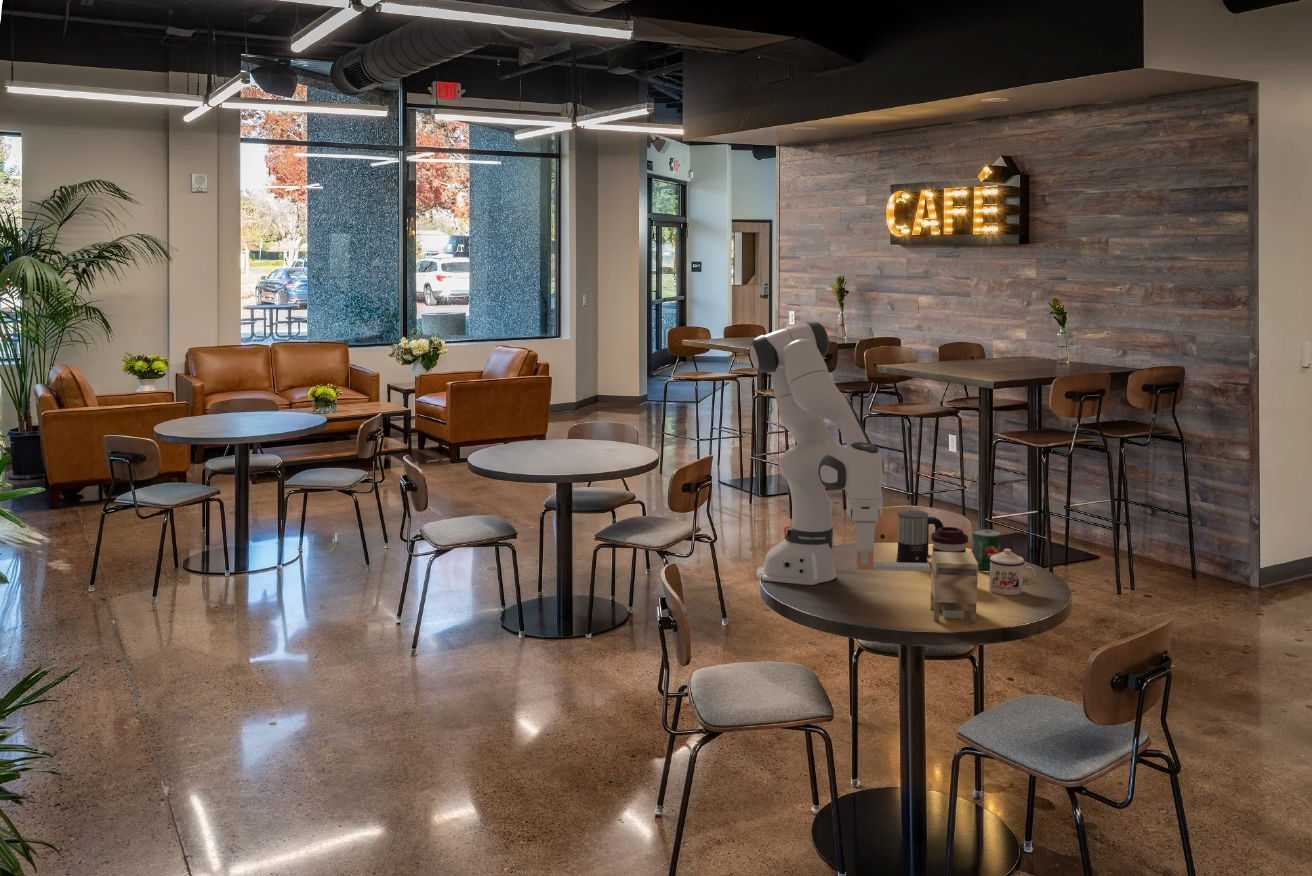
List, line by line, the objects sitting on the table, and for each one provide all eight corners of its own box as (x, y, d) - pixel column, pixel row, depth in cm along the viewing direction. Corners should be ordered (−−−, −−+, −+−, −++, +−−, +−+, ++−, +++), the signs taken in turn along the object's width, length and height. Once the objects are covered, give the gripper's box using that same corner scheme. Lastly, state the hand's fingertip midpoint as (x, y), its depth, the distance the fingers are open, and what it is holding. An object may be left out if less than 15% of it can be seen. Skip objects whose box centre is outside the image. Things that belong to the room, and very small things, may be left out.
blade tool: (857, 569, 278) (857, 550, 277) (856, 566, 282) (856, 547, 281) (930, 571, 275) (930, 552, 274) (929, 567, 279) (929, 548, 278)
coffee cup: (967, 587, 302) (969, 534, 300) (930, 585, 304) (932, 532, 302) (964, 577, 312) (967, 526, 309) (928, 575, 314) (930, 524, 311)
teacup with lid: (987, 594, 296) (989, 552, 294) (988, 585, 305) (990, 544, 303) (1035, 598, 292) (1037, 555, 291) (1034, 588, 301) (1036, 547, 299)
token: (943, 619, 276) (944, 610, 276) (940, 613, 281) (941, 604, 281) (964, 620, 276) (964, 610, 275) (960, 613, 281) (961, 604, 280)
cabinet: (934, 621, 273) (936, 563, 271) (930, 607, 284) (932, 551, 282) (975, 623, 272) (978, 564, 269) (970, 609, 283) (972, 552, 281)
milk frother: (907, 567, 323) (909, 517, 320) (876, 554, 337) (878, 507, 335) (947, 562, 328) (949, 513, 326) (915, 549, 343) (916, 503, 340)
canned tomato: (995, 574, 315) (997, 536, 314) (967, 570, 319) (969, 533, 317) (1001, 567, 322) (1003, 530, 320) (974, 564, 326) (976, 527, 324)
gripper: (851, 499, 288) (851, 550, 290) (852, 515, 268) (852, 571, 270) (875, 499, 287) (875, 551, 289) (878, 516, 267) (878, 571, 269)
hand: (864, 561), depth 279 cm, fingers closed on blade tool, 3 cm apart
